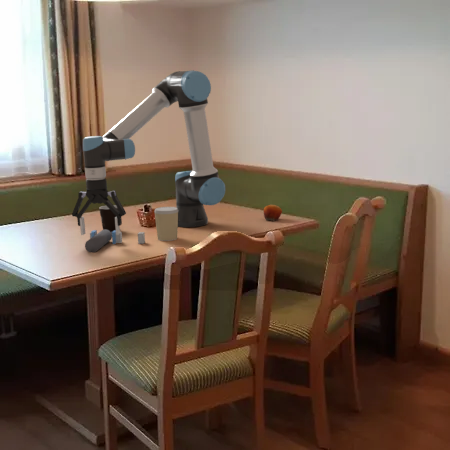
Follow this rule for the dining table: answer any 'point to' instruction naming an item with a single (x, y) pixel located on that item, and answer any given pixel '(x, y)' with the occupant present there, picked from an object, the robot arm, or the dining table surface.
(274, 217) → the fruit
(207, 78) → the robot arm
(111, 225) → the coffee mug
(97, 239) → the dark gray cylinder
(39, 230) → the dining table surface
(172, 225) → the coffee cup
